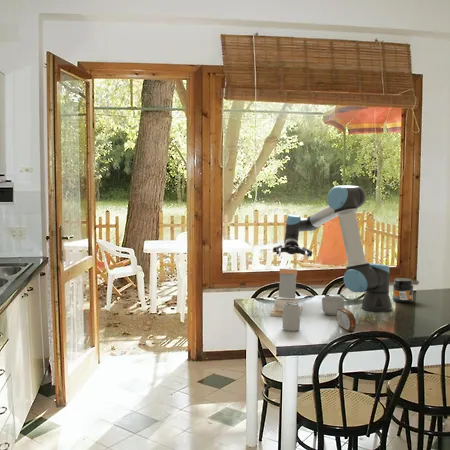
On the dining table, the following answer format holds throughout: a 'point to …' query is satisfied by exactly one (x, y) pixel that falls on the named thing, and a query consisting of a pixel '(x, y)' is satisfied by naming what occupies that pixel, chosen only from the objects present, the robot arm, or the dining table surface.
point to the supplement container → (403, 290)
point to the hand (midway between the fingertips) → (293, 255)
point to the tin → (346, 319)
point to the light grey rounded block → (332, 304)
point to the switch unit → (279, 305)
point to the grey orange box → (287, 283)
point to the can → (291, 316)
